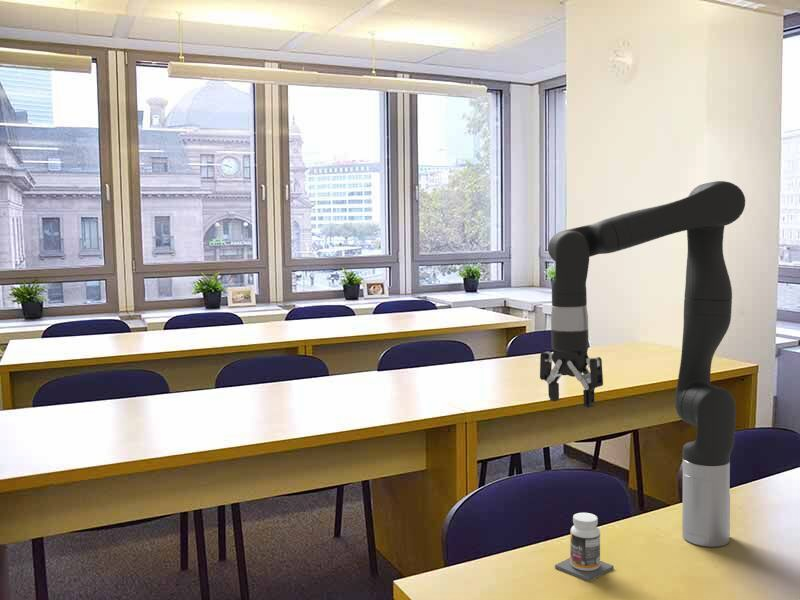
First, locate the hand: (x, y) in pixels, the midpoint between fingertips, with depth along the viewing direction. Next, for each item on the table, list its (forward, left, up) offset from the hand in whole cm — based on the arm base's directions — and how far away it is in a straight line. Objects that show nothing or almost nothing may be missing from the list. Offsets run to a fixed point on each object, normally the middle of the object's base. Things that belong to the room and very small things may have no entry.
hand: (571, 403), depth 156 cm
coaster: (+8, +9, -30) cm, 32 cm away
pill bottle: (+8, +9, -30) cm, 32 cm away
